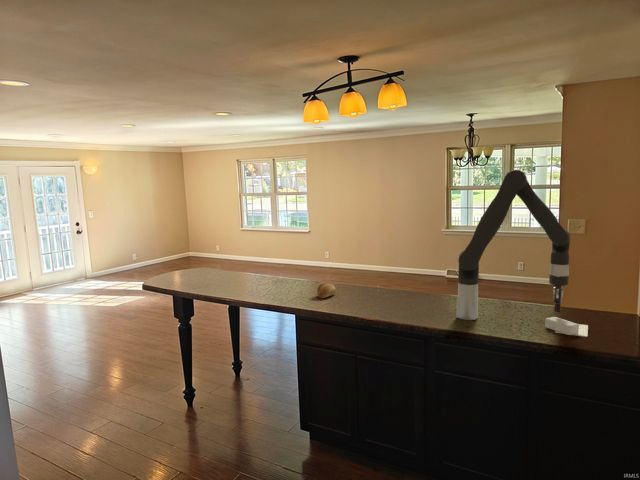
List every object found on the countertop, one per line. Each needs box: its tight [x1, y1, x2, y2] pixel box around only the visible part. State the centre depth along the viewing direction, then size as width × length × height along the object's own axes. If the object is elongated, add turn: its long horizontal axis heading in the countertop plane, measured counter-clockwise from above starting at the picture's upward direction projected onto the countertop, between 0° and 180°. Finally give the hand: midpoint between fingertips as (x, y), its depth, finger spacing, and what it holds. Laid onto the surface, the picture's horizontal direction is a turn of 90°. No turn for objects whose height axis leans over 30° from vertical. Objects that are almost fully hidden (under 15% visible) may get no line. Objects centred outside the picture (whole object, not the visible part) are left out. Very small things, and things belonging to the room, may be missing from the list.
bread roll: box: [316, 282, 337, 299], centre depth 257 cm, size 10×15×8 cm, turn 150°
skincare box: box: [544, 316, 579, 336], centre depth 188 cm, size 6×4×12 cm
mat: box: [554, 323, 589, 338], centre depth 190 cm, size 12×16×1 cm
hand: (557, 311), depth 193 cm, fingers closed
